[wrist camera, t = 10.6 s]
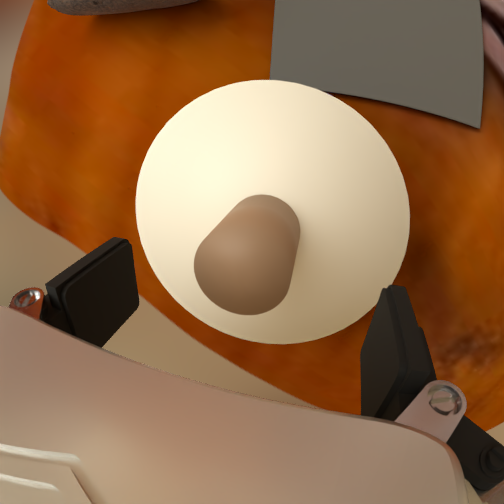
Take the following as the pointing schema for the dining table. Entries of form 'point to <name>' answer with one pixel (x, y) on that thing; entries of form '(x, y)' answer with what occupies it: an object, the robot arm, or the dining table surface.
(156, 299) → the dining table surface
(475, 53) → the mat
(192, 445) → the robot arm
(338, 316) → the lid
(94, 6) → the perforated stone tool
